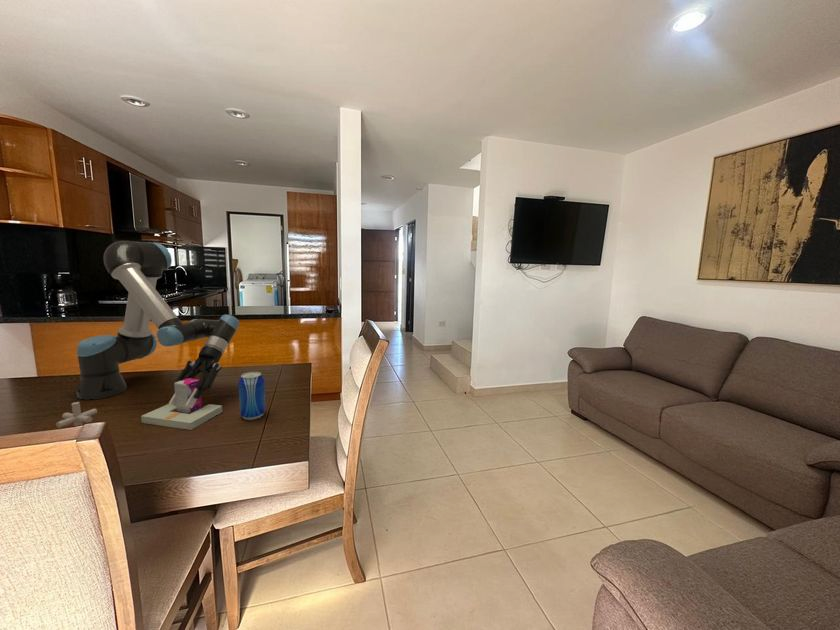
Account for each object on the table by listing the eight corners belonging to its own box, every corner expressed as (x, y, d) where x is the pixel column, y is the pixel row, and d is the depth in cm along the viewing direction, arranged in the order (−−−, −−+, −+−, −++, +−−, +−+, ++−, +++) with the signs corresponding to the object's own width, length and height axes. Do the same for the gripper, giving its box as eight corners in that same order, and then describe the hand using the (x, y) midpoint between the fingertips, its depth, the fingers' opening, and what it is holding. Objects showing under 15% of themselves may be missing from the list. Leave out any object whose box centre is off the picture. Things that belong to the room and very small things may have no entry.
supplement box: (188, 415, 120) (185, 384, 118) (176, 412, 122) (172, 382, 120) (203, 408, 126) (200, 379, 124) (191, 406, 127) (188, 377, 126)
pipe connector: (72, 442, 103) (68, 411, 102) (48, 437, 105) (43, 407, 104) (108, 426, 113) (105, 398, 111) (85, 422, 115) (81, 395, 113)
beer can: (241, 412, 127) (239, 372, 124) (265, 409, 130) (264, 369, 127) (239, 422, 119) (236, 379, 116) (265, 419, 122) (263, 377, 120)
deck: (177, 406, 130) (177, 399, 130) (222, 412, 126) (222, 405, 126) (141, 422, 116) (140, 415, 116) (191, 430, 113) (190, 422, 112)
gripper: (239, 356, 134) (209, 412, 121) (198, 352, 138) (165, 406, 124) (229, 347, 128) (196, 404, 115) (186, 343, 132) (150, 398, 118)
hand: (180, 405), depth 120 cm, fingers closed on supplement box, 6 cm apart
